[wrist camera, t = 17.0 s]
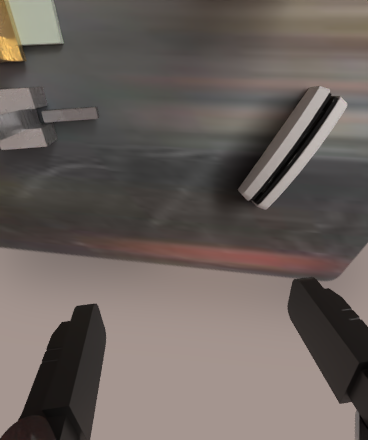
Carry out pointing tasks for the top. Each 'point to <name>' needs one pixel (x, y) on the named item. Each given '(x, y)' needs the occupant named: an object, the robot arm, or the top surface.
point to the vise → (32, 118)
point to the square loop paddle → (9, 36)
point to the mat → (36, 22)
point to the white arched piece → (293, 146)
